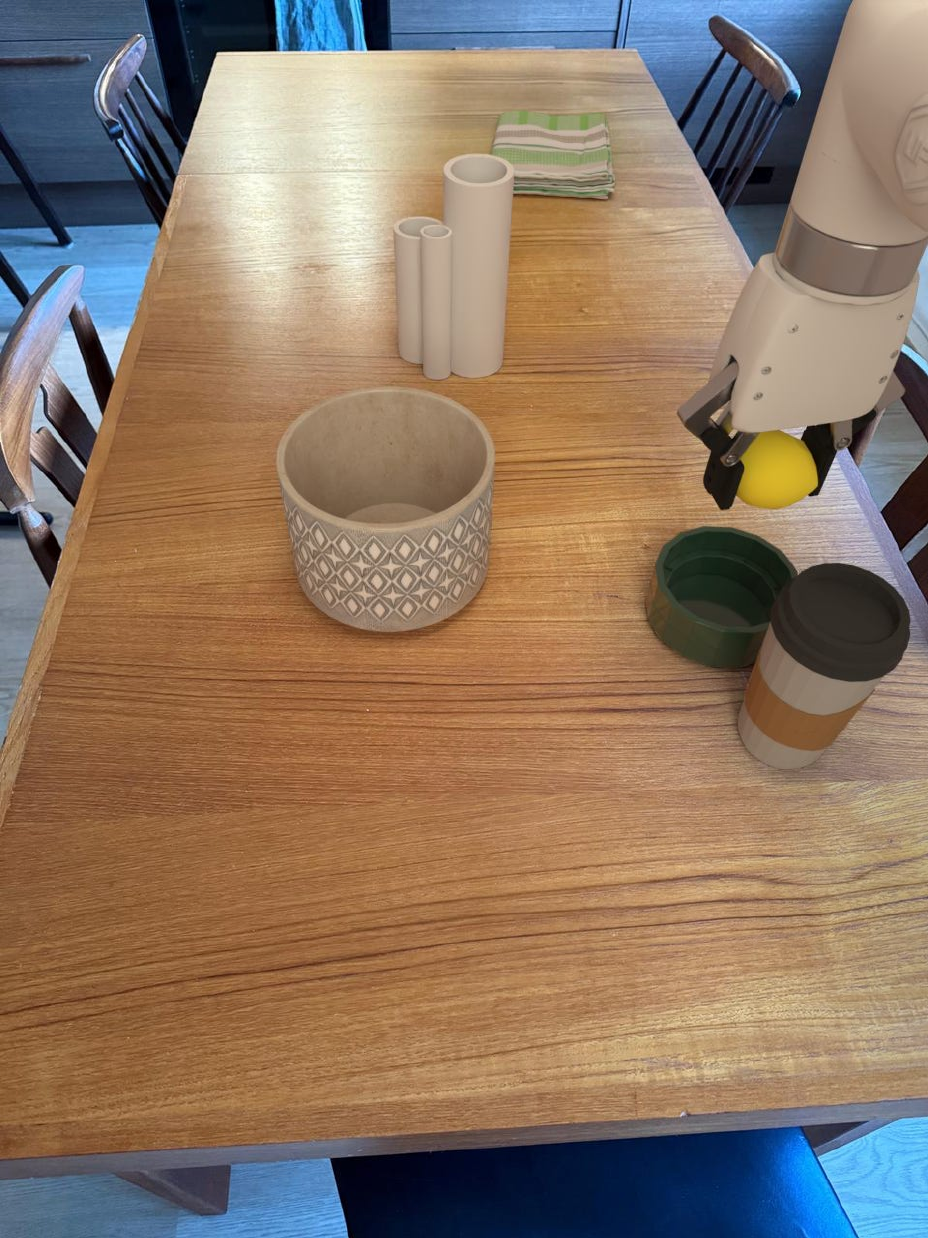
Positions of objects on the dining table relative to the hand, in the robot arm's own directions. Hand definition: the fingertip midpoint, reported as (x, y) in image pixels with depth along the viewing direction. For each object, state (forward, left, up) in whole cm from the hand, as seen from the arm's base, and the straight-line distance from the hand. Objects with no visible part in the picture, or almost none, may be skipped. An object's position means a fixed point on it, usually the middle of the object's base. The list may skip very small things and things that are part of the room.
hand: (760, 488), depth 63 cm
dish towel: (+67, -51, -15) cm, 85 cm away
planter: (+22, +16, -15) cm, 31 cm away
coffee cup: (-10, +6, -15) cm, 19 cm away
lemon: (0, 0, -1) cm, 1 cm away
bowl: (0, 0, -14) cm, 14 cm away
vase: (+41, -8, -15) cm, 44 cm away
